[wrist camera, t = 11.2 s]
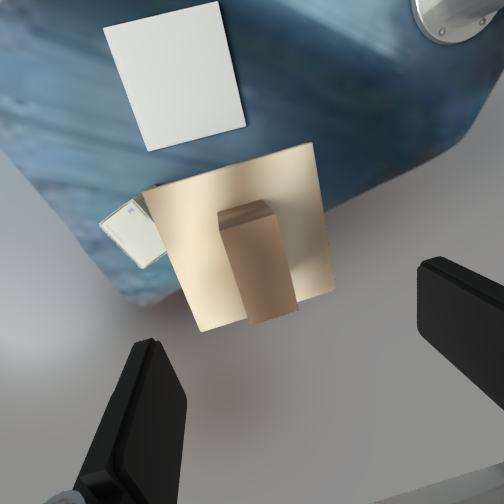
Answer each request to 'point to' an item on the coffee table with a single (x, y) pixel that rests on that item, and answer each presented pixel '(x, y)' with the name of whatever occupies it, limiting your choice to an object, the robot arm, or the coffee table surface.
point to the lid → (247, 237)
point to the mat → (178, 75)
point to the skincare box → (135, 231)
